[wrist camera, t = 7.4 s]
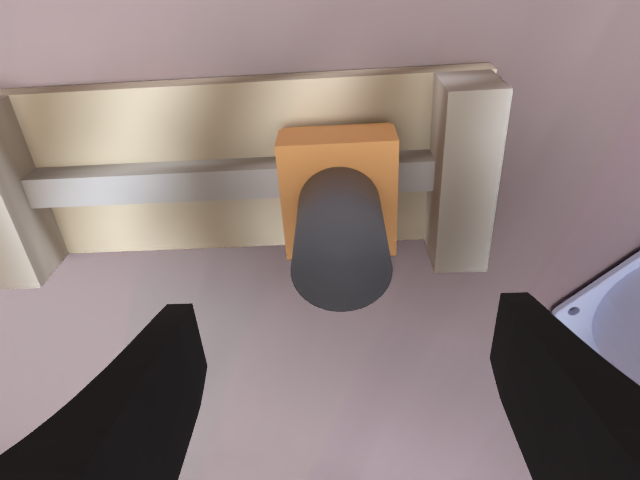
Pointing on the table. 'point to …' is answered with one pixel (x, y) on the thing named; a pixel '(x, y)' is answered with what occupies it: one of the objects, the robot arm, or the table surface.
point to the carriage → (339, 210)
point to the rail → (237, 161)
